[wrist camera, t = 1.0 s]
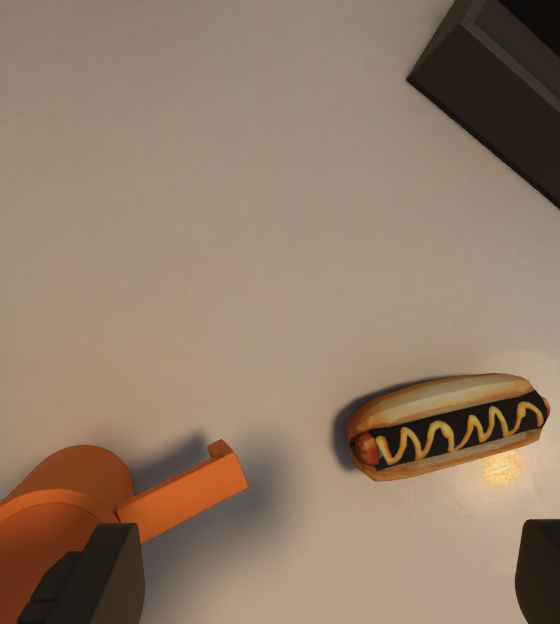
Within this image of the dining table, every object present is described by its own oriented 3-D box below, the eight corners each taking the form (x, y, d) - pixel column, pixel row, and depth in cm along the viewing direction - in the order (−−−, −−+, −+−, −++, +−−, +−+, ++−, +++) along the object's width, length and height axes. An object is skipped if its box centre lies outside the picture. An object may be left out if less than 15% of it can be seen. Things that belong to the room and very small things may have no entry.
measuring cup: (45, 572, 24) (-9, 691, 16) (5, 474, 24) (-73, 538, 15) (229, 478, 27) (268, 533, 19) (193, 391, 27) (216, 405, 19)
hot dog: (324, 397, 30) (358, 404, 25) (492, 362, 33) (551, 363, 29) (336, 475, 29) (374, 498, 24) (505, 431, 33) (566, 443, 28)
